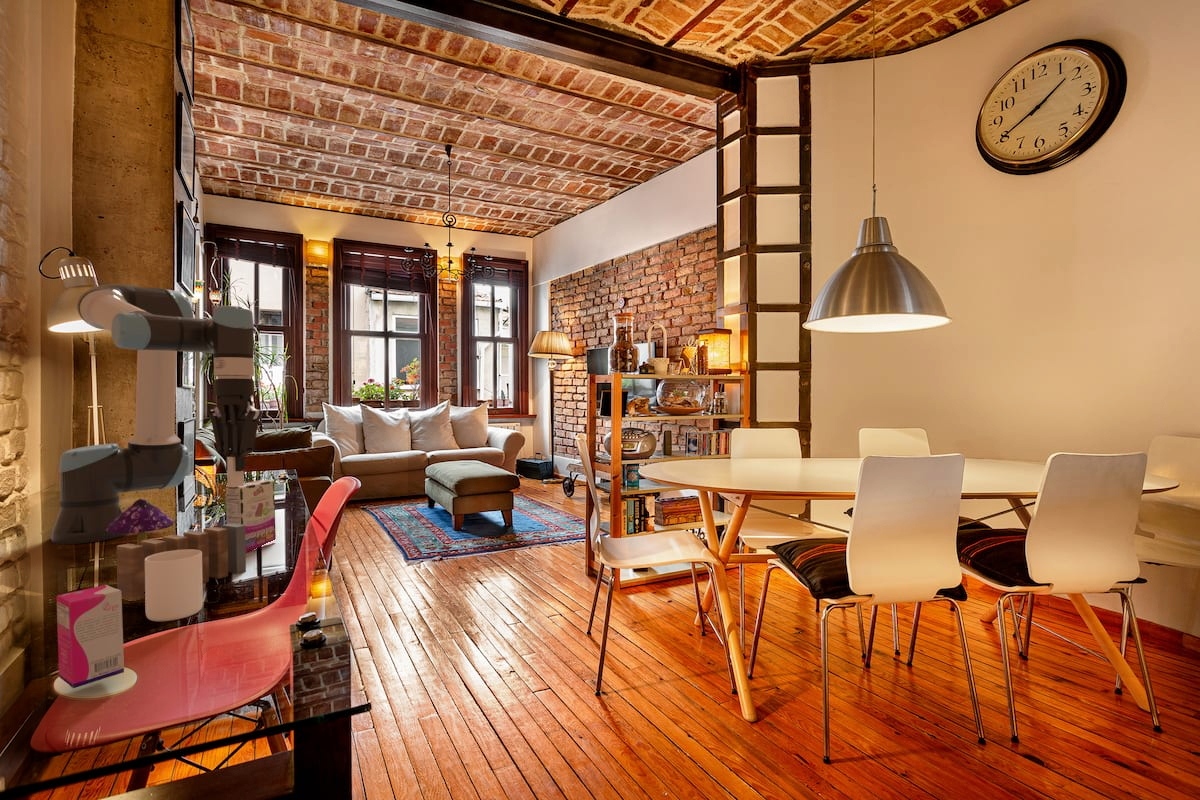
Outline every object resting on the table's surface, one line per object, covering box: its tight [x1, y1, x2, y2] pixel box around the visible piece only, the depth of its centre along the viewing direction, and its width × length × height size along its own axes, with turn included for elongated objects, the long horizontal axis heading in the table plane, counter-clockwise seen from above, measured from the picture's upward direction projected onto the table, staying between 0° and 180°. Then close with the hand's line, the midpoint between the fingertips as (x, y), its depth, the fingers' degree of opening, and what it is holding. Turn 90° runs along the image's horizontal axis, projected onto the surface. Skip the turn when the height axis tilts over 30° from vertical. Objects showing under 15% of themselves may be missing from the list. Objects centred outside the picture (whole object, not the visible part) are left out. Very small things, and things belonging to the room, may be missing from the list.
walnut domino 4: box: [183, 530, 210, 584], centre depth 127 cm, size 2×5×10 cm, turn 63°
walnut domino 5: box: [202, 526, 229, 580], centre depth 131 cm, size 2×5×10 cm, turn 63°
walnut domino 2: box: [140, 538, 166, 592], centre depth 120 cm, size 2×5×10 cm, turn 63°
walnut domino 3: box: [162, 534, 188, 552], centre depth 123 cm, size 2×5×10 cm, turn 63°
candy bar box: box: [224, 479, 277, 554], centre depth 153 cm, size 11×5×16 cm, turn 168°
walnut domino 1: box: [116, 542, 145, 602], centre depth 116 cm, size 2×5×10 cm, turn 63°
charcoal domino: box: [221, 523, 247, 575], centre depth 134 cm, size 2×5×10 cm, turn 64°
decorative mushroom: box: [106, 498, 176, 545], centre depth 140 cm, size 12×12×15 cm
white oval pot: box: [144, 549, 204, 622], centre depth 110 cm, size 12×8×10 cm
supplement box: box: [56, 584, 125, 689], centre depth 84 cm, size 6×6×12 cm
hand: (235, 486), depth 134 cm, fingers closed
